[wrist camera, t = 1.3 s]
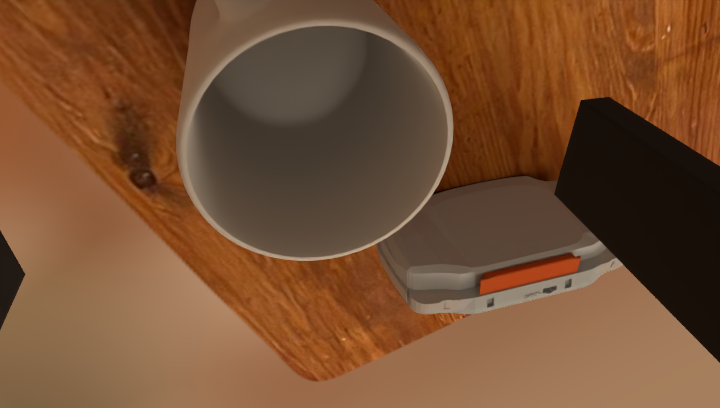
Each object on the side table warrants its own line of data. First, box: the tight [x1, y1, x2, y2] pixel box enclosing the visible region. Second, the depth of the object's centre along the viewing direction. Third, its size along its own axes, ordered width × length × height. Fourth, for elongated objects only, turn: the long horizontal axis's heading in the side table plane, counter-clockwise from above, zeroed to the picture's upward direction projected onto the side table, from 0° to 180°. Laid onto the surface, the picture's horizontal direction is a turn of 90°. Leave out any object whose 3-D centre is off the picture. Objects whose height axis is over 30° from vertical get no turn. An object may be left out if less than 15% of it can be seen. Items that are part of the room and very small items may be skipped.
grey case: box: [376, 176, 623, 314], centre depth 29 cm, size 14×3×8 cm, turn 94°
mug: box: [176, 0, 454, 261], centre depth 18 cm, size 12×8×11 cm
